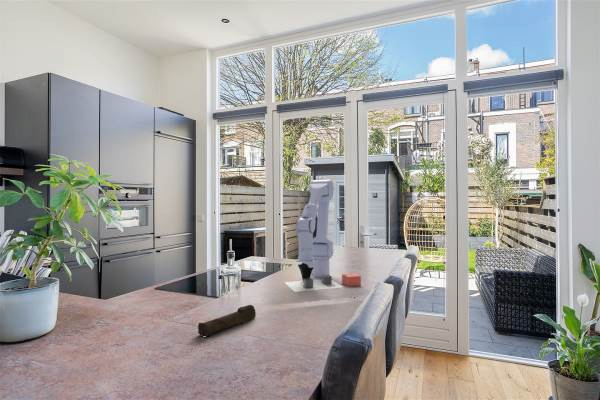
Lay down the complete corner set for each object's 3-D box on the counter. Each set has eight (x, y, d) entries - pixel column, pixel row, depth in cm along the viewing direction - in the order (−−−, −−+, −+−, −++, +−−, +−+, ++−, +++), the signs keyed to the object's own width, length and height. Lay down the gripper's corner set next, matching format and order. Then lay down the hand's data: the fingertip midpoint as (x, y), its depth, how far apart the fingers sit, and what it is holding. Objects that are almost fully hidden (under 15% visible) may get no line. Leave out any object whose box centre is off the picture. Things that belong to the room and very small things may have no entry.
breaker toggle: (303, 285, 135) (303, 278, 135) (310, 285, 136) (310, 277, 136) (305, 287, 132) (305, 280, 132) (313, 287, 133) (313, 279, 133)
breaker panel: (284, 285, 142) (284, 275, 142) (329, 282, 148) (329, 271, 148) (294, 295, 128) (294, 283, 128) (344, 291, 134) (344, 279, 134)
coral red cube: (342, 286, 141) (341, 274, 141) (354, 285, 142) (354, 273, 142) (347, 289, 135) (347, 277, 135) (360, 288, 137) (360, 276, 137)
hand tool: (205, 340, 89) (205, 322, 89) (197, 336, 92) (196, 318, 92) (261, 320, 103) (261, 305, 103) (252, 317, 106) (252, 302, 106)
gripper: (291, 246, 142) (291, 279, 143) (301, 251, 129) (301, 287, 129) (307, 245, 144) (307, 277, 145) (319, 250, 131) (319, 286, 131)
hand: (306, 282), depth 137 cm, fingers closed
